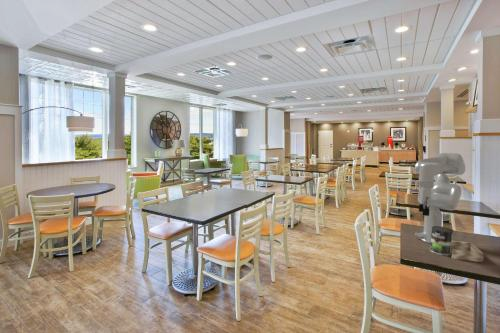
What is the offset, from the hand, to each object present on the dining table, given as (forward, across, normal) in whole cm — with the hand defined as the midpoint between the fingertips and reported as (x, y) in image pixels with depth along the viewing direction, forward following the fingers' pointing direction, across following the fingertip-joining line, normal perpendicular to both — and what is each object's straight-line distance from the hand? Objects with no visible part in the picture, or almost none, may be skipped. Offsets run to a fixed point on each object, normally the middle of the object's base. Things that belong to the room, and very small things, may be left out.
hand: (423, 213), depth 163 cm
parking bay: (+22, 0, +20) cm, 30 cm away
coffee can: (+22, 0, +10) cm, 24 cm away
